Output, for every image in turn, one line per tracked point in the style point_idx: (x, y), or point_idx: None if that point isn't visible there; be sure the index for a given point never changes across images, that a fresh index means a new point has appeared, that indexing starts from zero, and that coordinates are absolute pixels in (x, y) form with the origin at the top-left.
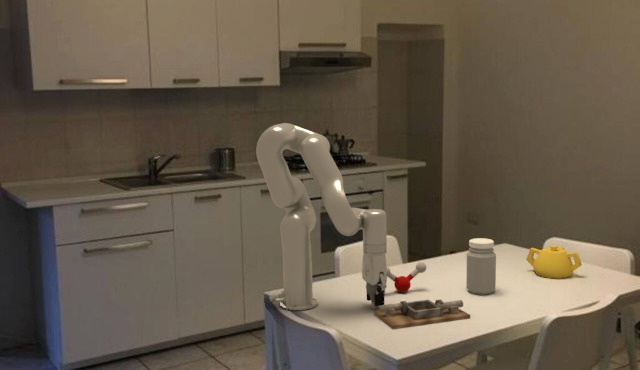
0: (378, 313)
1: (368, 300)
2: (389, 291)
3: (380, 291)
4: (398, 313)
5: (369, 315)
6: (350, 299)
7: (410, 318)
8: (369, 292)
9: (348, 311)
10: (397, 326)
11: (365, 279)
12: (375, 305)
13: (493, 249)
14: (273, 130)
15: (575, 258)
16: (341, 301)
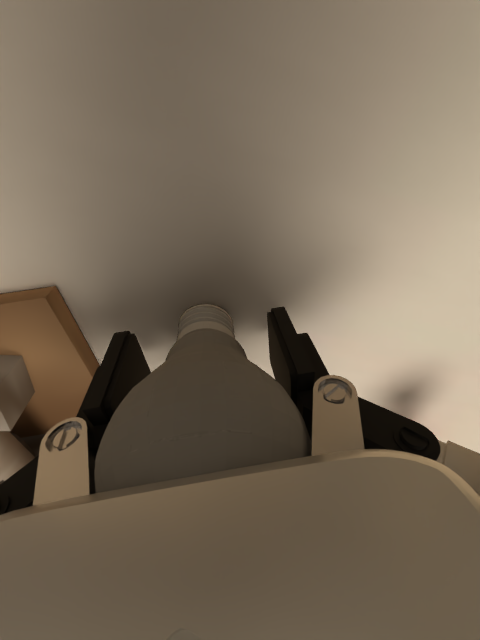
0: (5, 317)
1: (270, 313)
2: (432, 416)
3: (7, 486)
4: (23, 413)
5: (44, 251)
6: (465, 205)
7: None
8: (148, 376)
9: (169, 80)
10: None
11: (267, 503)
12: (115, 335)
13: None
14: None
15: None
16: (477, 104)
